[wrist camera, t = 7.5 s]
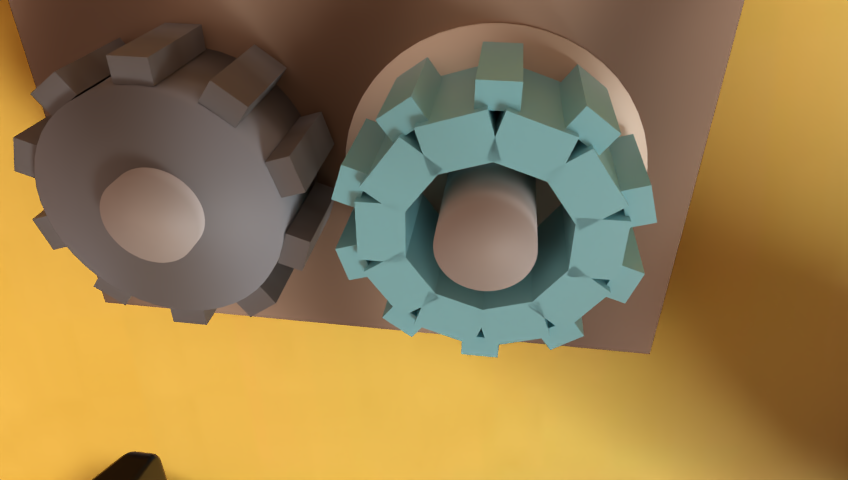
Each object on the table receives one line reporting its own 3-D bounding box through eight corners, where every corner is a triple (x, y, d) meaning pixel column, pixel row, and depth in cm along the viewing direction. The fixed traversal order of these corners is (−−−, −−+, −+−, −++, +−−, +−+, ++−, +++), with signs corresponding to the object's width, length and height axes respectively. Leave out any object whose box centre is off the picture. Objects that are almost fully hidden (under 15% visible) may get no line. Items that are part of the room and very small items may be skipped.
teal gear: (660, 47, 14) (690, 93, 12) (609, 298, 18) (623, 375, 16) (353, 33, 15) (318, 75, 12) (365, 278, 19) (340, 347, 16)
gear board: (737, -63, 14) (825, -18, 10) (641, 321, 20) (672, 449, 16) (25, -85, 16) (-150, -53, 12) (129, 275, 22) (36, 380, 18)
